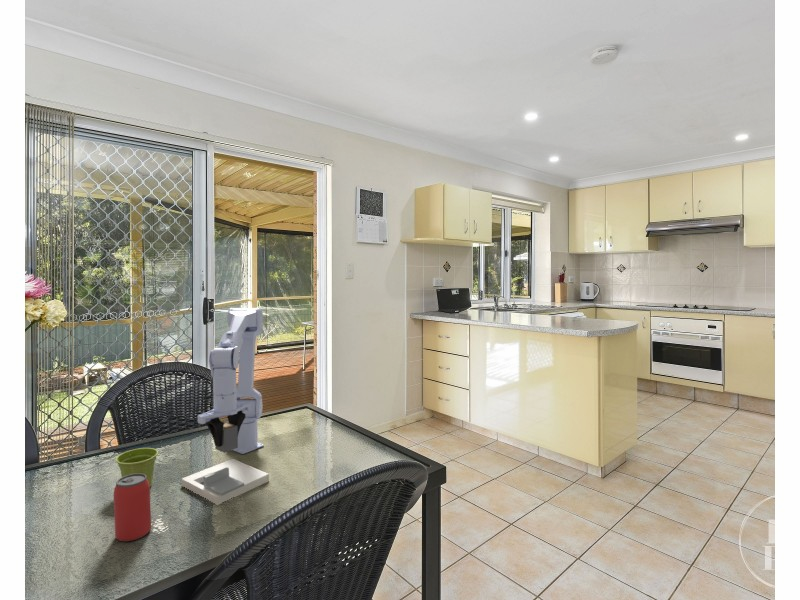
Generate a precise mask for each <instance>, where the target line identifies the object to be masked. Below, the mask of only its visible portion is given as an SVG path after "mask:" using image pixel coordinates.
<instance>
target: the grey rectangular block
mask: <svg viewBox="0 0 800 600" xmlns="http://www.w3.org/2000/svg"><path fill="white" fill-rule="evenodd" d="M214 446H215V445H214ZM236 448H238V426H236V425H234V424H231V423H229V422H227V423H224V426H223V431H222V446H220V447H218V446H215V447H214V449H215V450H217V451H219V452H221V453H227V452H230V451H233V449H236Z"/></svg>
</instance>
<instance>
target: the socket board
mask: <svg viewBox="0 0 800 600" xmlns="http://www.w3.org/2000/svg"><path fill="white" fill-rule="evenodd" d="M226 467H227V468H229V476H230V477H232V478H234V479H236V480H238V481H241V482H243V483H244V486H242V487H240V488H238V489H236V490H233V491H231V492H229V493H227V494H225V495H222V496H220V495H218V494H216V493H214V492H212V491H211V490H209V489H207V488H205V487H204V476H206V475H209V474H211V473H214V472H216V471H219V470H221V469H224V468H226ZM269 481H270V474H269V473H268V472H265V471H262V470H260V469H258V468H255V467H253V466H251V465H249V464H246V463H243V462H241V461H239V460H237V459H235V458H232V459H229V460H226V461H224V462H221V463H218V464H215V465H213V466H211V467H208V468H205V469H202V470H201V471H197V472H195V473H192V474H190V475H188V476H185V477H182V478H181V487H182V488H184V487H185V489H186V488H187V490H188V489H189V491H190V490H191V491H190V492H192V491H193V492H192V493H194V494H195V493H196V495H197V494H199V495H200V496H199V495H198V496H199V497H201V496H202V497H201V498H203V497H204V498H203V499H205V498H206V499H205V500H207V499H208V500H209V501H208V500H207V501H208V502H210V501H211V502H210V503H212V502H213V503H212V504H214V503H215V504H214V505H215V506H216V505H217V506H219V505H221V504H223V503H222V502H224V501H226V500H228V501H230V500H232V499H234V498H236V497H238V496H240V495H242V494H245V493H247V492H249V491H251V490H253V489H256V488H258V487H259V486H262V485H264V484H266V483H268V482H269ZM233 497H234V498H233ZM231 498H232V499H231ZM229 499H230V500H229ZM226 502H227V501H226ZM220 503H221V504H220ZM224 503H225V502H224ZM218 504H219V505H218Z"/></svg>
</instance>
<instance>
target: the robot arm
mask: <svg viewBox="0 0 800 600" xmlns="http://www.w3.org/2000/svg"><path fill="white" fill-rule="evenodd" d="M263 321H264V314H263V310H262V308H261V307H229V309H228V311H227V314H226V322H227V325H228V327H229V328H228V331H225V332H224V333H223V334H222V336H221V338H220V341H219V343H218V344H217V347H215V348H213V349H211V350H210V351H209V352H210V353H209V358H208V363H209V364H208V365H209V368H210V375H211V377H212V382H213V383H212V388H213V390H212V392H213V393H212V395H213V398H212V400H213V409H211V410H208V411H207V412H203V413H201V414H198V415H197V423H198V424H200V425H204V424H205V425H206V426H207V428H208V430H209V432H210V434H211V436H212V440H213V443H214V446H218V447H220V446H222V431H223V426H224V424H225V422H224V421H222V420H221V418H224V417H227V420H228V421H227V422H228V423H231V424H234V425H236V426H238V448H236V449H233V450H232V451H233V452H236V453H238V454H240V455H244V454H247V453H250V452H252V451H255V450H257V449H260V448H262V447H264V446H265V445H264V444H263V443H261V442H259V437H258V436H259V435H258V434H259V433H258V432H259V431H258V420H260V418H261V417H262V415H263V395H262V394H261V392H260V391H258V390H257V389H256V388H254V382H255V379H254V377H255V358H256V357H255V356H256V355H255V354H256V341H257V337H258V336H260V335H262V333H263V332H262V331H263V325H264V322H263ZM237 368H238V375H237ZM237 376H238V377H237ZM237 378H238V379H237Z"/></svg>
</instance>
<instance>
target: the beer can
mask: <svg viewBox="0 0 800 600" xmlns="http://www.w3.org/2000/svg"><path fill="white" fill-rule="evenodd" d="M150 489H151V487H150V485H149V482H148V480H147V476H146V475H145V474H140V473H137V474H130V475H127V476H124V477H122V476H121V477H120V478H119V479H117V480H116V481H115V487H114V490H113V510H114V512H113V513H114V536H115V537H114V538H116V539H117V541H120V542H124V543H125V542H126V543H127V542H133V541H137V540H139V539H141V538H142V537H145V536H146V535H147V534H148V533H149V532H150V531H151V528H152V519H151V518H152V513H151V490H150Z"/></svg>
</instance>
